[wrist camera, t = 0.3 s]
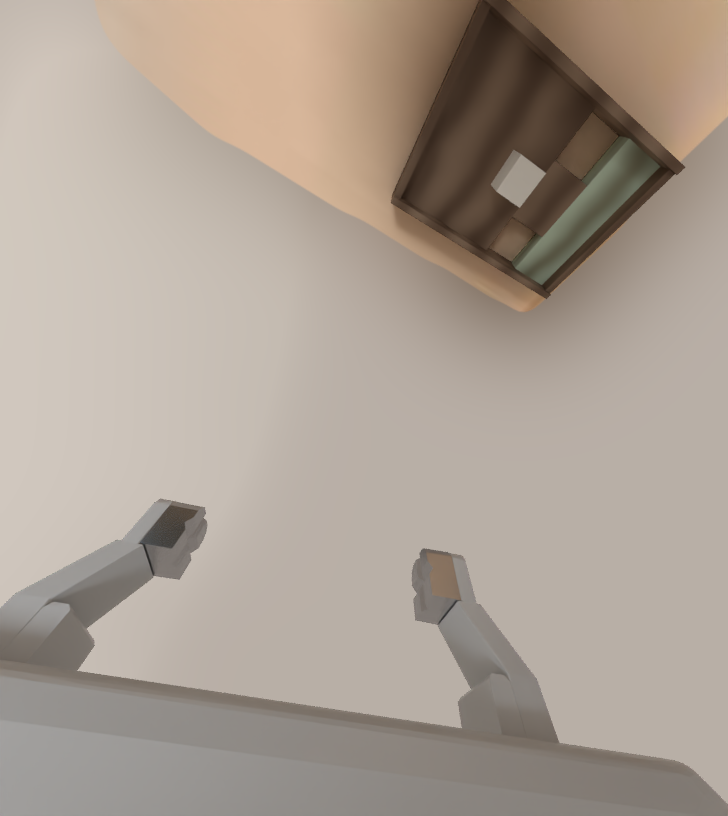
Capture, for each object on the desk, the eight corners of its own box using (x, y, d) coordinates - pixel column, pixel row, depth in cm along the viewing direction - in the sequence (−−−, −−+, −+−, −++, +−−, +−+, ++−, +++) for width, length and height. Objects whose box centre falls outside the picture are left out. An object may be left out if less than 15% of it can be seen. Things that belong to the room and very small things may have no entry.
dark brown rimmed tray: (392, 194, 43) (390, 202, 40) (481, -5, 30) (489, -16, 26) (537, 285, 51) (546, 298, 48) (661, 160, 37) (685, 167, 34)
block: (490, 184, 39) (496, 191, 37) (513, 149, 36) (521, 154, 34) (512, 200, 40) (519, 207, 38) (536, 167, 37) (546, 173, 35)
